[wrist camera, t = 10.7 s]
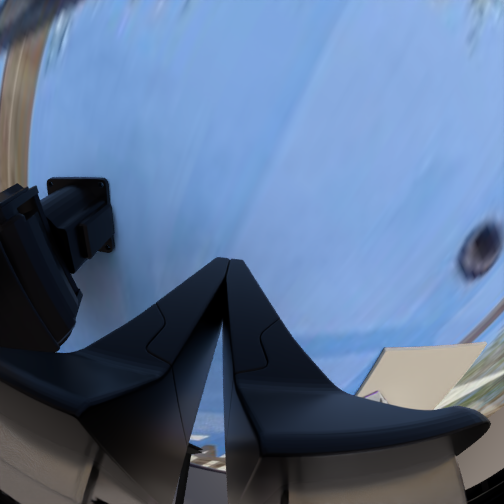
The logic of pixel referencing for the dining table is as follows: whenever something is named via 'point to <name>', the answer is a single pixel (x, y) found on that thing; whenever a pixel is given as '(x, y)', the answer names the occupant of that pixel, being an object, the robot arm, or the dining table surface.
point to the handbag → (185, 473)
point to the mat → (419, 373)
